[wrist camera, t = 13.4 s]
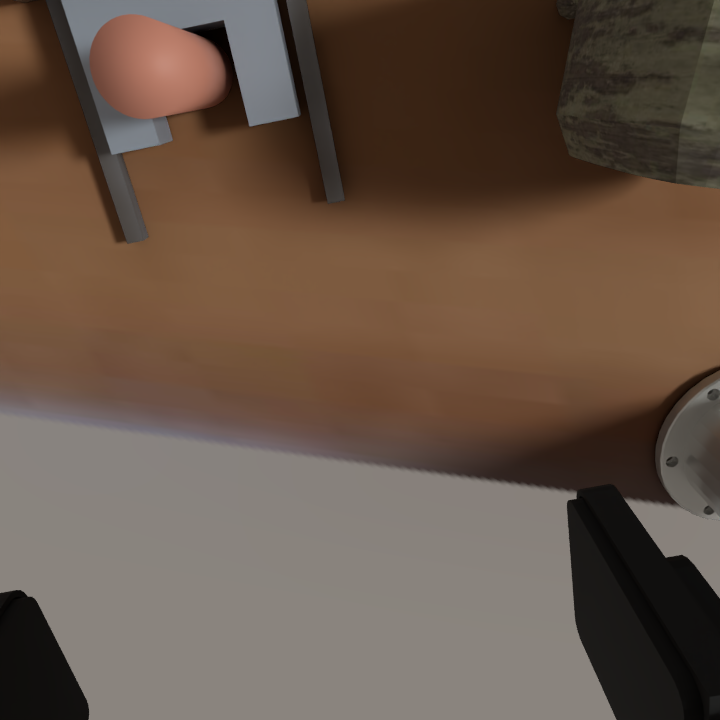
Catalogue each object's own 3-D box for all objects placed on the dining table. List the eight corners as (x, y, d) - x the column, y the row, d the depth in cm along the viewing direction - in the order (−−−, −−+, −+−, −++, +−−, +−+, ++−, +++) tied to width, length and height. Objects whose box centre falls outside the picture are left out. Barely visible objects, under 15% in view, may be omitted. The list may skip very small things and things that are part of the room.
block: (266, -50, 33) (260, -63, 30) (301, 114, 36) (298, 116, 33) (78, -10, 33) (55, -19, 30) (128, 149, 36) (111, 154, 34)
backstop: (317, -96, 32) (315, -126, 28) (369, 192, 38) (374, 207, 33) (12, -30, 33) (-40, -49, 28) (108, 244, 39) (78, 266, 34)
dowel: (222, 30, 34) (169, 4, 23) (240, 101, 36) (198, 108, 25) (157, 44, 35) (74, 25, 24) (177, 114, 36) (108, 127, 25)
